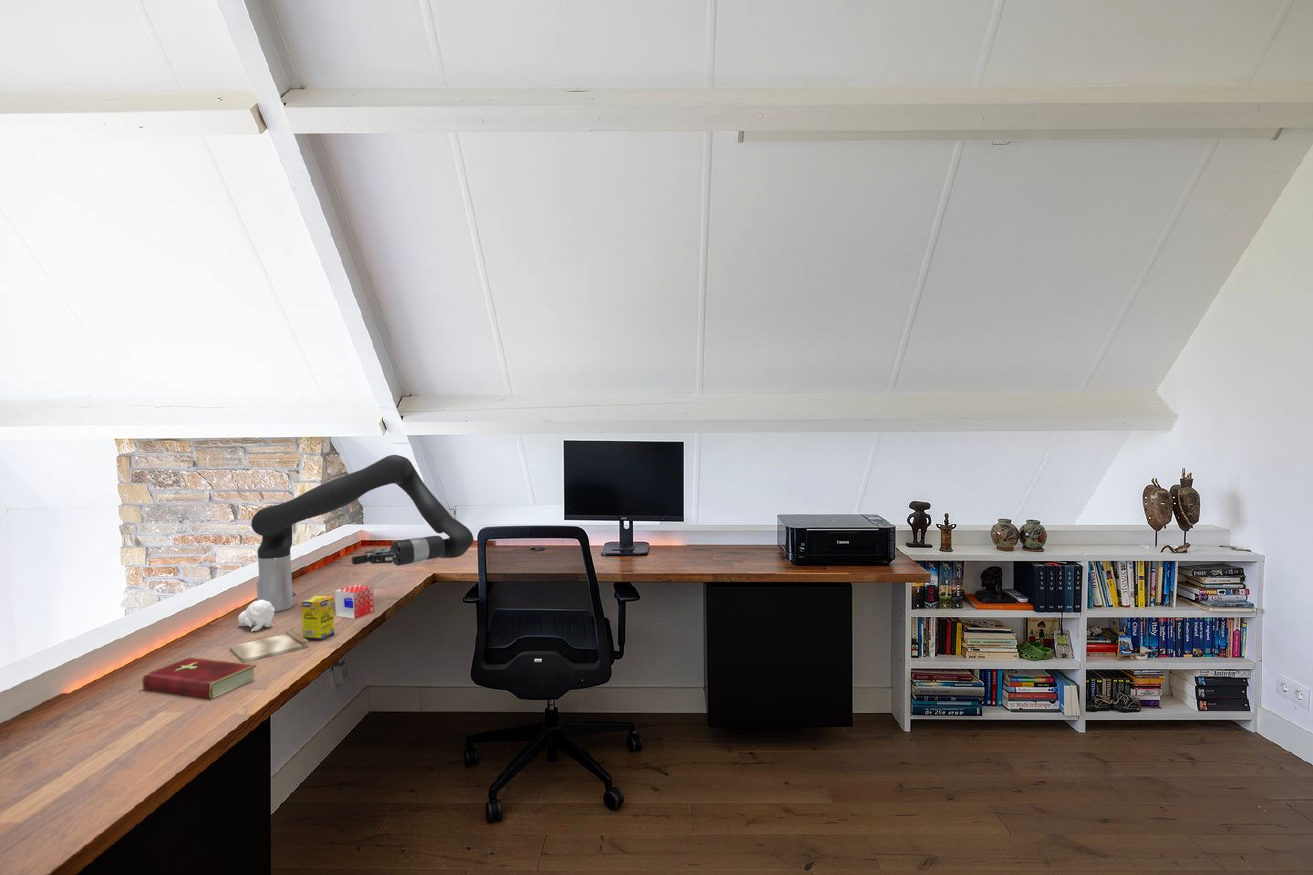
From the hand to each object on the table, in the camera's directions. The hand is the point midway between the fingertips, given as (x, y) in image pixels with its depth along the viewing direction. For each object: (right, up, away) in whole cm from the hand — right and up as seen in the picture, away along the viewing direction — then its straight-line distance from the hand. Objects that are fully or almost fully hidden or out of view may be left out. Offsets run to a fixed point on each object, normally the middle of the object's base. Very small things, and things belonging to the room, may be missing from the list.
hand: (352, 560), depth 205 cm
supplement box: (-7, -21, -6) cm, 23 cm away
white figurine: (-31, -21, +4) cm, 37 cm away
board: (-17, -21, -15) cm, 31 cm away
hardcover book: (-19, -23, -39) cm, 49 cm away
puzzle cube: (-6, -20, +16) cm, 26 cm away
